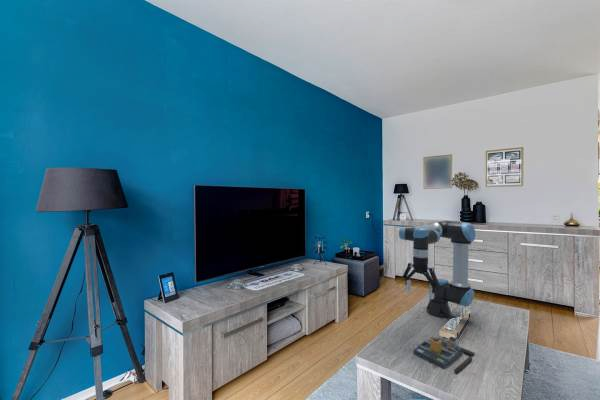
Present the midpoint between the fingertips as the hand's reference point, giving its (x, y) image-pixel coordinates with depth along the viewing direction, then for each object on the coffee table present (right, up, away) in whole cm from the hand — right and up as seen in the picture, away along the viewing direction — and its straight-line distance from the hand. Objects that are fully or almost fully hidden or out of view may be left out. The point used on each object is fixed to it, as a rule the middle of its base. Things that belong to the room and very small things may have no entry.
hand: (419, 294), depth 152 cm
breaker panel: (+6, -28, -8) cm, 30 cm away
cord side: (+13, -28, -18) cm, 36 cm away
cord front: (+17, -28, -2) cm, 32 cm away
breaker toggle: (+4, -26, -9) cm, 28 cm away
